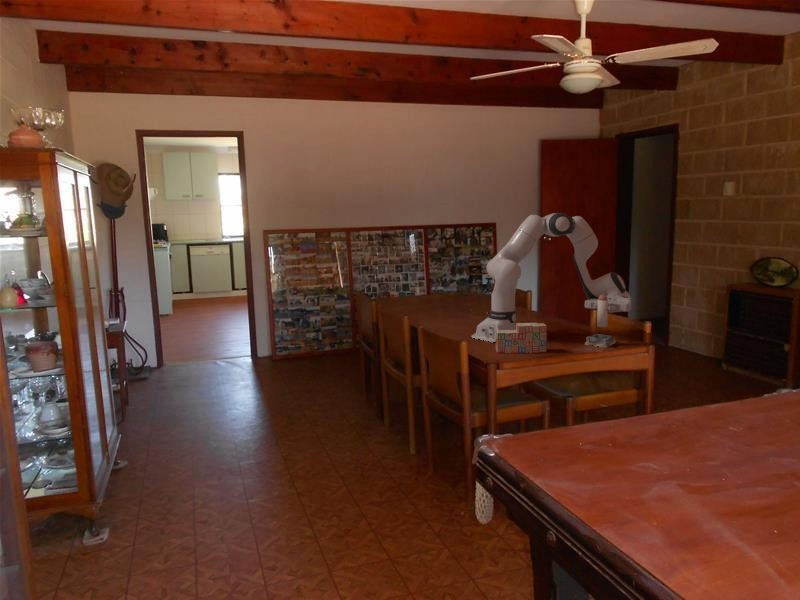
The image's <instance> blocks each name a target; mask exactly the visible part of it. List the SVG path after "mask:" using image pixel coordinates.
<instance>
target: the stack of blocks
mask: <svg viewBox="0 0 800 600" xmlns="http://www.w3.org/2000/svg"><path fill="white" fill-rule="evenodd" d="M515 326H516V330H496V343H495V351H496V353H497V352H498V353H497V354H536V353H537V354H539V353H538V352H546V353H547V337H548V333H547V325H546V324H545V323H544V322H542V323H541V322H539V323H538V322H525V323H521V322H517V323H516V322H515ZM528 352H529V353H528Z"/></svg>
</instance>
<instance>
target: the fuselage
mask: <svg viewBox="0 0 800 600" xmlns="http://www.w3.org/2000/svg"><path fill="white" fill-rule="evenodd" d="M607 306H608V300H607V296H606V295H604V294H602V295H600V296H599V298H598V309H596V312H597V313H596V315H597V316H596V317H597V318H596V327H599V328H607V327H608V319H609V318H608V316H609V315H608V313H609V312H608V310H607Z"/></svg>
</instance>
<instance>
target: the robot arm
mask: <svg viewBox="0 0 800 600" xmlns="http://www.w3.org/2000/svg"><path fill="white" fill-rule="evenodd" d="M542 236H546V237H555V238H556V237H557V238H558V237H562V236H566V237H567V238H568V239H569V241H570V242H571V244H572V246H573V249H574V253H573V255H572V258H573V259H572V260H573V263H574V267H575V269H576V272H577V274H578V277H579V280H580V282H581V284H582V285H581V286H582V287H583V292H584V294H585V297H586V298H587V299H586V300H584V308H585V309H589V310H590V309H591V310H592V309H593V310H597V309H598V298H599V296H600V295H602V294H604V295H606V296H607V300H608V306H607V310H608V313H609V314H613V313H621V312H625V313H627V312H631V311H632V298H631V295H630V294H629V292H628V291H627V285H626V283H625V280H624V278H623V277H622V276H621V275H620V274H619V273H616V272H613V271H611V272H609V273H606V274H604V275H602V276H599V277H598V278H596V279H592V278H591V275H590V273H589V270H588V268H587V261H588V260H589V259H590V257H591V256H592V255H593V254H594V253H596V250H597V249H598V246H599V240H598V238H597V235H596V234H595V232H594V231H593V229H592V227H591V226H590V225H589V223H588V222H587V221H586V220H585V219H584V217H582V216H580V215H575V216H572V217H571V216H569V215H568V214H567V213H563V212H554V213H553V212H552V213H550V214H546V215H544V216H543V217H542V216H539V215H537V214H530V215H528V217H527V216H526V218H525V219H524V221H522V223H520V225H519V227H518V228H517V229H516V231H515V232H514V233H513V235H512V236H511V238H510V239H509V240H508V241H507V243H506V245H504V246H503V247H502V249H501V250H499V251H498V253H497V254H496V255H495V256H494V257H492V258H491V259H489V260H488V262H487V263H486V273H487V274H488V275H489V277H490V278H492V280H493V279H494V287H493V290H492V292H491V304H490V305H491V309H490V310H488V311H487V312H486V315H487V317H486V318H485V319H484V320H482V321H481V322H480V323H478V325H477V326H476V329H475V330H476V331H475V333H473V334H472V335H471V337H472V338H471V339H473V338H475V339H474V340H478V339H480V340H479V341H483V340H484V342H488V341H489V342H488V343H493V342H496V330H516V321H517V319H516V318H517V314H516V313H517V312H516V304H515V303H516V291H517V286H518V281H519V279H520V278H521V275H522V269H521V266H520V265H519V263H520V262H521V261H523V260H524V259H525V258H527V256H529V254H530V253H531V251H532V250H533V248H534V247H535V245H536V244H537V243H538V241H539V240H540V238H541V237H542Z"/></svg>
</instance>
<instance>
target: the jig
mask: <svg viewBox="0 0 800 600" xmlns="http://www.w3.org/2000/svg"><path fill="white" fill-rule="evenodd" d="M585 340H586V341H585V342H584V345H585V346H589V345H593V346H592V347H597V346H599V347H598V348H604V349H605V348H606V349H607V348H609V347H611V346H613V345H614V344H616V343H617V340H616V339H615V336H614V335H607V334H601V333H600V334H599V333H595V334H593V335H591V336H586V339H585Z"/></svg>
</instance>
